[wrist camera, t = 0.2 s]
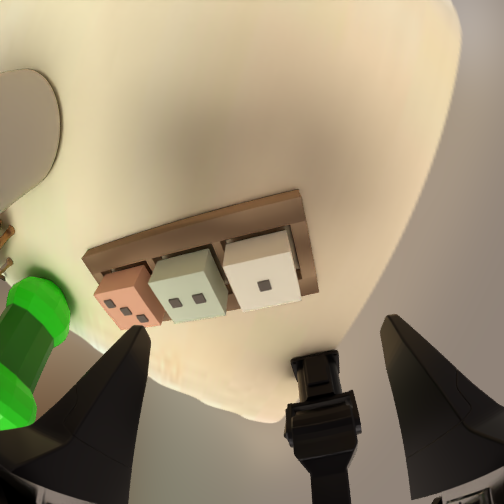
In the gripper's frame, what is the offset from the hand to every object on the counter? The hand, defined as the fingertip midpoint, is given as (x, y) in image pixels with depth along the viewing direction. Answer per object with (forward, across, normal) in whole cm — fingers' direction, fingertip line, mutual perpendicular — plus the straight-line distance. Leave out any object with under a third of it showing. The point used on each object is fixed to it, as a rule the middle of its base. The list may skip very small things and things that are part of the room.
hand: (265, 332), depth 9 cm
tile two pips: (+13, +6, +8) cm, 16 cm away
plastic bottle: (+14, +28, +11) cm, 33 cm away
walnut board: (+14, +6, +8) cm, 17 cm away
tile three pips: (+13, +13, +9) cm, 20 cm away
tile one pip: (+13, 0, +6) cm, 14 cm away
